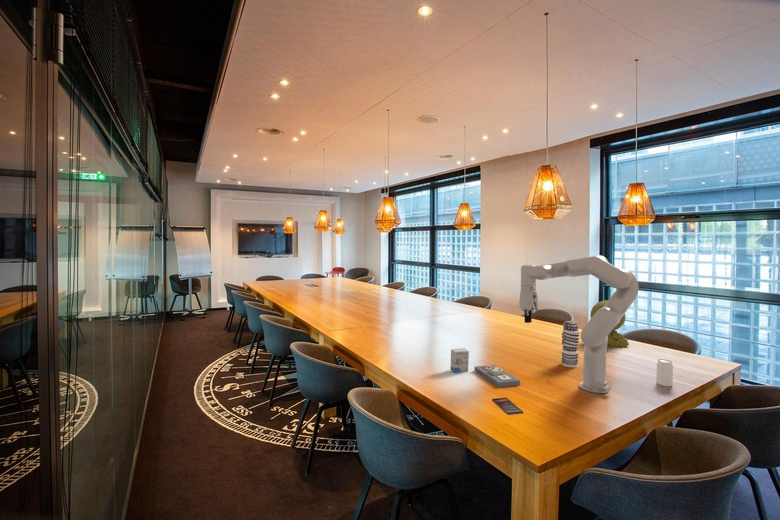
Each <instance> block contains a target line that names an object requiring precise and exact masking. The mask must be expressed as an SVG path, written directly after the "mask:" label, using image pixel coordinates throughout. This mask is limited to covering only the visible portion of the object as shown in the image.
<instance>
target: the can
mask: <svg viewBox="0 0 780 520" xmlns="http://www.w3.org/2000/svg"><path fill="white" fill-rule="evenodd" d="M655 375H656V377H655V380H656V381H655V382H656V384H657V385H659V386H661V387H666V388H671V387H672V386H673V379H674V378H673V376H674V365H673V361H672V360H669V359H665V358H659V359H657V363H656V374H655Z"/></svg>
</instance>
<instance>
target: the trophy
mask: <svg viewBox="0 0 780 520" xmlns="http://www.w3.org/2000/svg"><path fill="white" fill-rule="evenodd" d="M608 300H609V299H608ZM608 300H601V301H599V302H597V303H595V304H594V305H593V306H592V308H591V310H590V319H591V318H592V317H593V315H594V314H595V313H596V312H597V311H598V310H599V309H601V308H602V307H603V306H604V305H605V304H606V303H607V302H608ZM625 321H626V313H625V314H624V315H623V316H622V318H621V319H620V321H619V323H618V324H617V325H616V326H615V327H614V329H613V330H612V331H611V332H610V334H609V335H608V342H607V348H609V347H610V348H625V347H628V346H630V345H629V344H630V343H629V342H628V340H629V339H626V337H625V336H624V335H623V334H622V333H621V332H618V331H617V330H619V329H620V328H621V327H623V325H624V323H625Z"/></svg>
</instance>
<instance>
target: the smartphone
mask: <svg viewBox="0 0 780 520" xmlns="http://www.w3.org/2000/svg"><path fill="white" fill-rule="evenodd" d="M491 401H492V402H493V403H495V404H496V405H497V407H499V408H500V409H501V410H502V411H503V412H504V413H505V414H507V415H508V416H509V415H510V416H511V415H520V414H521V415H523V414H524V411H523V410H522V409H521V408H519V407H518V406H517V405H516V404H514V403H513V402H512V400H510V399H509V398H508V397H499V398H498V397H496V398H492V399H491Z"/></svg>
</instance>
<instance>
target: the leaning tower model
mask: <svg viewBox="0 0 780 520" xmlns="http://www.w3.org/2000/svg"><path fill="white" fill-rule="evenodd" d="M562 325H563V329H562V333H561V341H562V342H561V345H562V351H561V365H562V366H564V367H566V368H567V367H568V368H578V366H579V365H578V364H579V352H578V347H579V343H580V341H579V340H580V339H579V337H580V331H579V324H578V323H577V321H573V320H566V321H564V323H562Z"/></svg>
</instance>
